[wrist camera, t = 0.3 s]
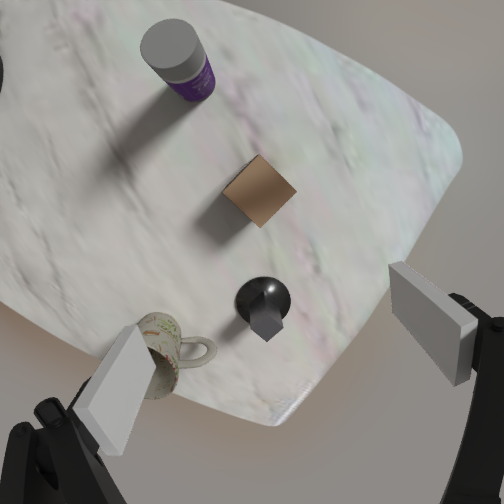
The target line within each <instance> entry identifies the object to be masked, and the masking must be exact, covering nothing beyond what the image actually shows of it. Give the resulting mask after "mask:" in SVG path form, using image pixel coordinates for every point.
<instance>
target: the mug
mask: <svg viewBox="0 0 504 504" xmlns="http://www.w3.org/2000/svg"><path fill="white" fill-rule="evenodd" d="M137 325H138V328H139V330H140V332H141V335H142V337H143V339H144V341H145V344H146V346H147V348H148V350H149V352H150V355H151V357H152V359H153V361H154V363H155V365H156V368H155V371H154V373H153V376H152V378H151V381H150V383H149V386H148V388H147V391H146V393H145V396H144V398H143V399H160V398H163V397H166V396H167V395H169V394H170V393H171V392H172V391H173V390H174V389H175V387H176V385H177V381H178V373H179V369H181V368H196V367H200V366H203V365H205V364H206V363H208V362H209V361H211V360H212V359H213V358H214V357H215V355H216V354H217V346H216V344H215V343H214V342H213V341H211V340H209V339H206V338H203V337H189V338H183V339H181V329H180V327H179V325H178V323H177V322H176V321H175V320H174V319H173V318H172V317H171V316H169V315H167V314H164V313H159V312H155V313H150V314H148V315H146V316H145V317H144V318H143V319H142V320H141V321H140V322H139V323H138V324H137ZM181 343H201V344H204V345H205V346H206V347H207V349H208V350H207V352H206V354H205V355H203V356H202V357H200V358H198V359H195V360H179V358H180V345H181Z"/></svg>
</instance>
